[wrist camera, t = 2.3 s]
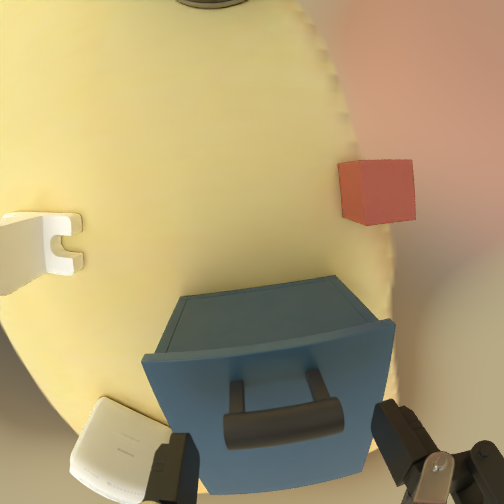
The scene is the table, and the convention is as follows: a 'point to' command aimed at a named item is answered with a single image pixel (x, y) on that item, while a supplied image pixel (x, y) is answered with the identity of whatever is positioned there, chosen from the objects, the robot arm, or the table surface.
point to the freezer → (262, 315)
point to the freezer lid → (277, 406)
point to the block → (377, 191)
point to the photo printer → (117, 451)
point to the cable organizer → (36, 247)
